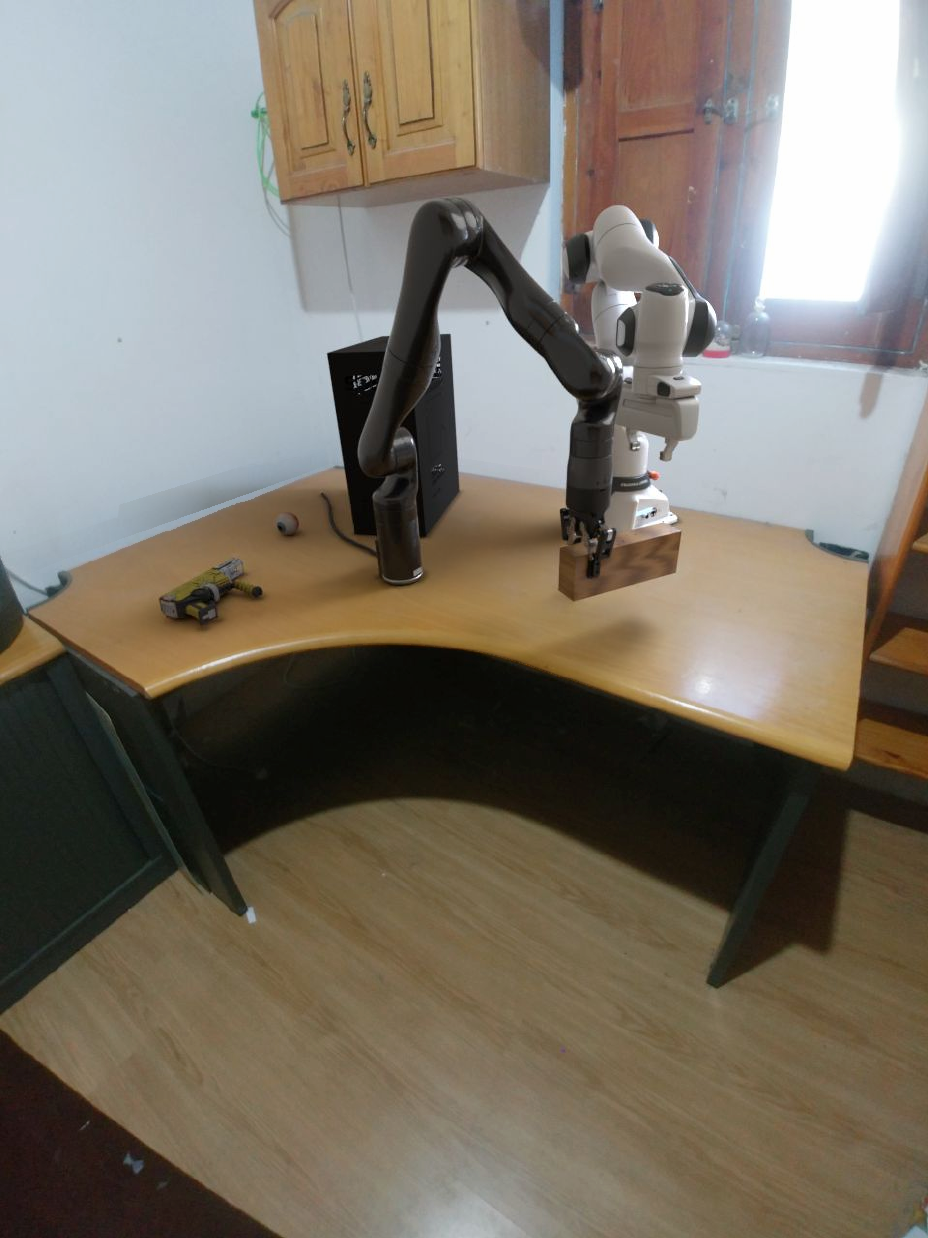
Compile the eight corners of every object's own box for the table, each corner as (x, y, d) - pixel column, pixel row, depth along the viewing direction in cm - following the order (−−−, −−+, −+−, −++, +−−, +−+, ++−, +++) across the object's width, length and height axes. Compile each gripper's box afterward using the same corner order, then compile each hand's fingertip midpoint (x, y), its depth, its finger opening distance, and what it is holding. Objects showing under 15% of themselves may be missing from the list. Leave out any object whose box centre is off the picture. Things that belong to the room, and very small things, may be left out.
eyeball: (273, 537, 164) (268, 516, 161) (287, 528, 169) (282, 508, 166) (291, 539, 161) (286, 518, 158) (305, 530, 166) (301, 510, 163)
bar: (658, 563, 120) (663, 522, 116) (675, 572, 116) (681, 530, 112) (558, 590, 112) (559, 547, 108) (573, 601, 108) (575, 557, 104)
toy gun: (284, 566, 139) (229, 555, 143) (214, 612, 119) (152, 597, 123) (286, 584, 141) (232, 573, 145) (217, 632, 121) (157, 617, 125)
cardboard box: (426, 536, 158) (409, 350, 136) (354, 533, 163) (326, 352, 140) (459, 490, 190) (450, 333, 167) (398, 489, 194) (381, 336, 172)
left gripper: (547, 473, 105) (545, 561, 114) (595, 495, 94) (589, 592, 102) (583, 466, 108) (578, 553, 116) (634, 487, 96) (625, 582, 105)
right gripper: (608, 377, 121) (604, 447, 127) (680, 389, 104) (671, 469, 111) (634, 374, 123) (628, 443, 129) (708, 385, 106) (698, 463, 113)
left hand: (583, 571), depth 109 cm, fingers closed on bar, 5 cm apart
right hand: (649, 455), depth 120 cm, fingers open, 8 cm apart
